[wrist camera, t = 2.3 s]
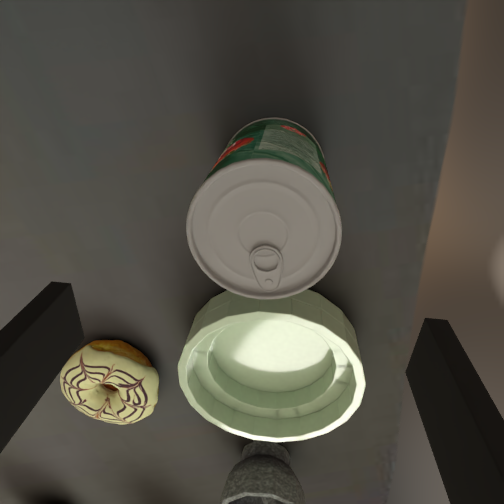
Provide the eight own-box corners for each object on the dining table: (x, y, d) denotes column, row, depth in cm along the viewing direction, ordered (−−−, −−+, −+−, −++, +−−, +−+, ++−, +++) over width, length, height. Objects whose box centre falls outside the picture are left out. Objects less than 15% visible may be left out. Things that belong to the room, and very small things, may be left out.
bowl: (187, 269, 33) (171, 303, 29) (371, 285, 32) (383, 322, 27) (195, 391, 41) (184, 431, 37) (342, 407, 40) (347, 450, 36)
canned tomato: (213, 124, 26) (168, 168, 17) (323, 110, 25) (341, 149, 16) (231, 222, 30) (202, 303, 21) (326, 214, 29) (343, 296, 19)
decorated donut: (175, 354, 39) (164, 382, 35) (152, 411, 44) (141, 440, 41) (80, 321, 37) (60, 347, 34) (68, 384, 43) (50, 412, 40)
